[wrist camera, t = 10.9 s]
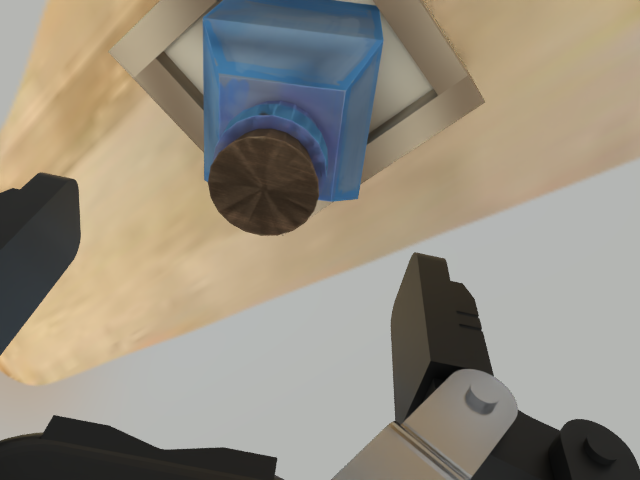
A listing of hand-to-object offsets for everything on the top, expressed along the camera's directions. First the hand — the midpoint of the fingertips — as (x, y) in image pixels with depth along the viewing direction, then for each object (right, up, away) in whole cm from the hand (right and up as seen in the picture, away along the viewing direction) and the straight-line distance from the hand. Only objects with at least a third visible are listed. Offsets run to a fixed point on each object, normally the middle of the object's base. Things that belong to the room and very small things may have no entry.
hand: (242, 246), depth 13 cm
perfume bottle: (+1, +8, +13) cm, 15 cm away
